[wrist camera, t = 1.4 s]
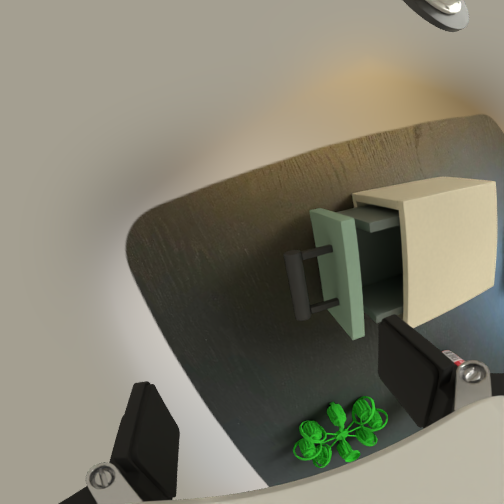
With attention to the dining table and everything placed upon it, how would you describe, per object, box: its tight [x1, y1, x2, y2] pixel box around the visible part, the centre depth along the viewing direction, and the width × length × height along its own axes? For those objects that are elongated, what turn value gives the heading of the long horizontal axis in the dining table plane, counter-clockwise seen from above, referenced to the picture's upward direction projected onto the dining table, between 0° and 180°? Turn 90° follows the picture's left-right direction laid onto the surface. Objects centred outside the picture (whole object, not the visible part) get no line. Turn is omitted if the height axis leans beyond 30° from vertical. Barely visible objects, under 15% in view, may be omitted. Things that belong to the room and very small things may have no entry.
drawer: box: [283, 204, 403, 340], centre depth 25 cm, size 17×10×7 cm, turn 103°
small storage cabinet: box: [352, 177, 497, 328], centre depth 26 cm, size 14×12×9 cm
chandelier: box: [293, 396, 388, 468], centre depth 33 cm, size 15×15×7 cm
